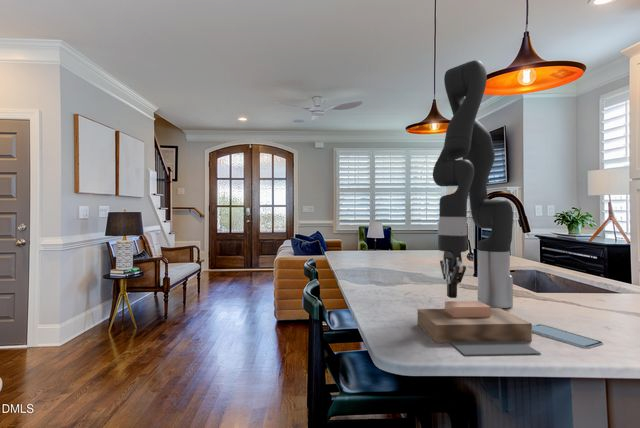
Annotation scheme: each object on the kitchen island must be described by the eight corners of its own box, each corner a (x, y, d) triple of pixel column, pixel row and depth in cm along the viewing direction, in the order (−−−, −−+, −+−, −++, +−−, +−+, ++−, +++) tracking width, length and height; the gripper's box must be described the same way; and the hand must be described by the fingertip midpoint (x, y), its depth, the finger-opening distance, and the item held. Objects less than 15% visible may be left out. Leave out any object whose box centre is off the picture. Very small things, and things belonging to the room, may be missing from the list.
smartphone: (586, 347, 81) (521, 327, 95) (586, 351, 81) (521, 331, 95) (605, 342, 85) (540, 323, 98) (605, 346, 85) (540, 327, 98)
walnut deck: (499, 323, 100) (499, 308, 100) (531, 341, 86) (531, 323, 86) (417, 324, 99) (417, 309, 99) (436, 342, 85) (436, 324, 85)
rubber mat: (520, 342, 86) (520, 340, 86) (540, 354, 78) (540, 353, 78) (450, 343, 85) (450, 341, 85) (464, 355, 78) (464, 354, 78)
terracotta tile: (479, 310, 98) (479, 301, 98) (490, 316, 92) (490, 306, 92) (444, 310, 98) (444, 301, 98) (454, 317, 92) (454, 307, 92)
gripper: (477, 235, 97) (476, 303, 97) (456, 232, 110) (456, 292, 110) (447, 234, 97) (447, 302, 97) (431, 232, 110) (430, 292, 110)
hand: (451, 297), depth 103 cm, fingers closed
